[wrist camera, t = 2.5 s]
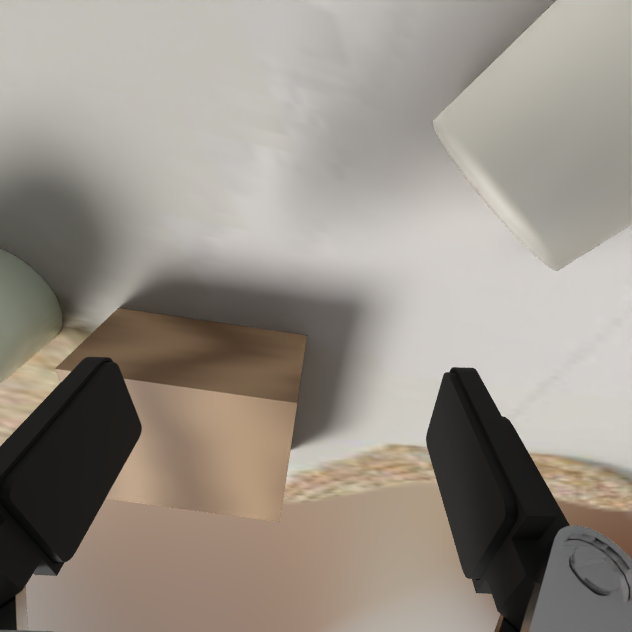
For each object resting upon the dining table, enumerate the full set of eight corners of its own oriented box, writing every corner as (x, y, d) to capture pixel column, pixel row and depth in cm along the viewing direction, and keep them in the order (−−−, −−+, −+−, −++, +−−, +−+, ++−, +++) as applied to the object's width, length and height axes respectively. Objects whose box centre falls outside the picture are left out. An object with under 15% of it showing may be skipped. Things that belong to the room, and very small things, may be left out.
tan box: (307, 332, 18) (297, 403, 14) (290, 446, 24) (279, 521, 20) (121, 305, 18) (54, 368, 14) (147, 426, 24) (105, 498, 19)
